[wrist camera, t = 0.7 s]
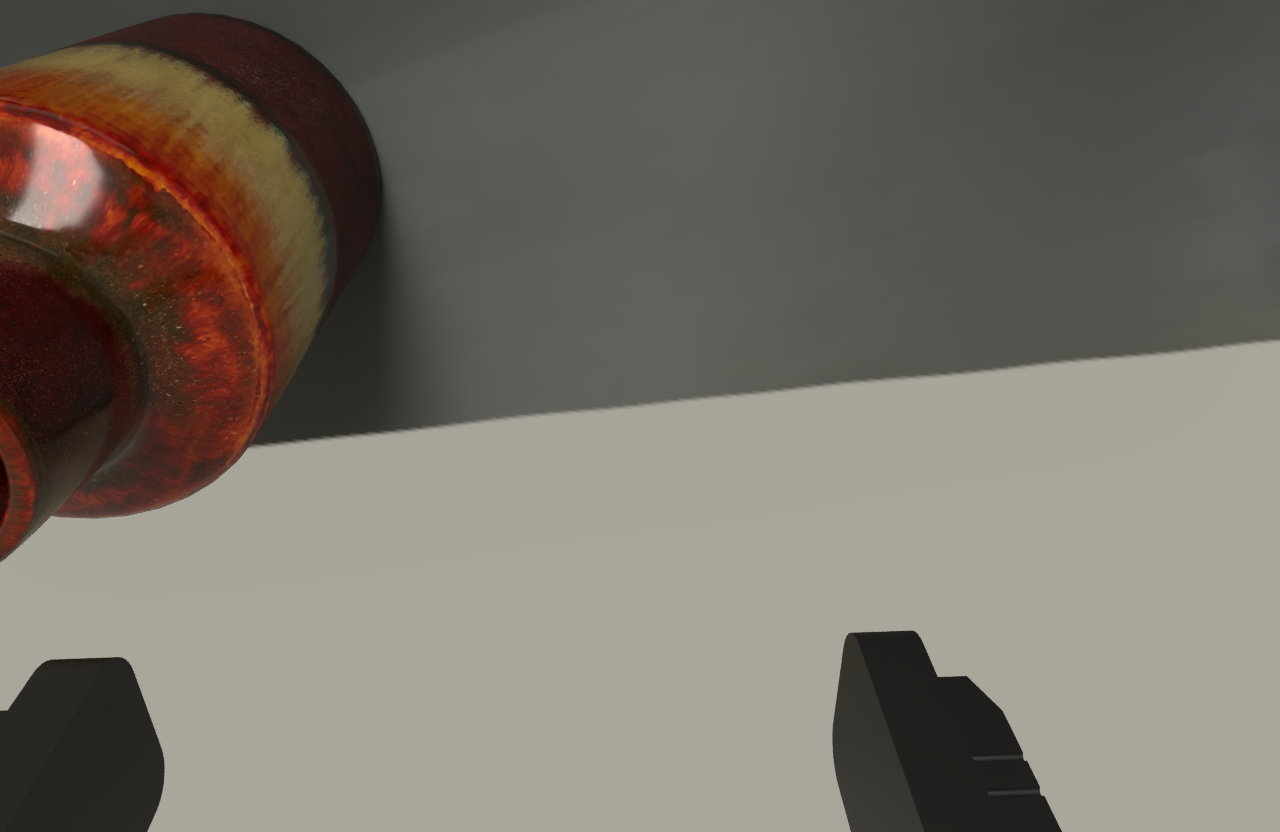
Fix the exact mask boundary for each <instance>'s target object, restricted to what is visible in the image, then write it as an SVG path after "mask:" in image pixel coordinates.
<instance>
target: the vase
mask: <svg viewBox="0 0 1280 832" xmlns="http://www.w3.org/2000/svg"><path fill="white" fill-rule="evenodd" d="M380 197H381V188H380V169H379V164H378V159H377V154H376V149H375V146H374V143H373V140H372V138H371V135H370V132H369V129H368V127H367V124H366V122H365V121H364V119H363V117H362V115H361V113H360V111H359V109H358V107H357V106H356V104H355V102H354V101H353V99H352V98H351V97H350V95H349V94H348V93H347V91H346V90H345V88H344V87H343V86H342V84H341V83H340V82H339V81H338V80H337V78H336V77H335V76H334V75H333V74H332V73H331V72H330V71H329V70H328V69H327V68H326V67H325V66H324V65H323V64H322V63H321V62H320V61H319V60H317V59H316V58H315V57H313V56H312V55H311V54H310V53H308V52H307V51H306V50H305V49H303V48H302V47H301V46H299V45H298V44H296V43H294V42H293V41H291V40H289V39H287V38H286V37H284V36H282V35H281V34H279V33H277V32H275V31H273V30H270V29H268V28H265V27H263V26H260V25H258V24H255V23H253V22H250V21H246V20H242V19H238V18H234V17H230V16H225V15H216V14H205V13H189V14H176V15H169V16H165V17H162V18H158V19H154V20H150V21H146V22H143V23H140V24H137V25H133V26H130V27H127V28H124V29H121V30H117V31H114V32H111V33H108V34H105V35H102V36H99V37H96V38H93V39H89V40H86V41H83V42H80V43H77V44H74V45H71V46H68V47H65V48H61V49H58V50H55V51H52V52H49V53H46V54H43V55H40V56H37V57H34V58H31V59H28V60H25V61H21V62H18V63H15V64H12V65H9V66H6V67H3V68H0V562H1V561H3V560H4V559H6V558H7V557H8V556H9V555H10V554H11V553H12V552H14V551H15V550H16V549H17V548H18V547H19V546H20V545H21V544H23V543H24V542H25V541H26V540H27V539H28V538H29V537H30V536H31V535H32V534H33V533H34V532H35V531H37V529H38V528H40V527H41V526H42V525H43V524H44V523H45V522H46V521H47V520H48V519H49V518H50V517H51V516H56V517H71V518H94V519H95V518H107V517H119V516H128V515H132V514H137V513H141V512H145V511H150V510H154V509H159V508H162V507H164V506H167V505H169V504H171V503H174V502H176V501H179V500H182V499H184V498H187V497H189V496H191V495H192V494H194V493H196V492H197V491H199V490H201V489H202V488H204V487H206V486H208V485H209V484H211V483H213V482H214V481H215V480H216V479H218V478H219V477H220V476H221V475H222V474H223V473H224V472H226V471H227V470H228V469H229V468H230V467H231V466H232V465H233V464H235V463H236V462H237V461H238V459H239V458H240V457H241V456H242V454H243V453H244V452H245V451H246V449H247V448H248V447H249V446H250V444H251V443H252V442H253V441H254V439H255V438H256V436H257V435H258V433H259V431H260V430H261V428H262V426H263V425H264V423H265V422H266V420H267V418H268V417H269V415H270V414H271V412H272V410H273V409H274V407H275V405H276V404H277V402H278V400H279V399H280V397H281V395H282V393H283V392H284V390H285V388H286V387H287V385H288V383H289V382H290V380H291V378H292V376H293V375H294V373H295V371H296V370H297V368H298V366H299V365H300V363H301V361H302V359H303V358H304V356H305V354H306V353H307V351H308V349H309V347H310V346H311V344H312V342H313V341H314V339H315V337H316V336H317V334H318V332H319V330H320V329H321V327H322V325H323V324H324V322H325V320H326V318H327V317H328V315H329V313H330V312H331V310H332V308H333V306H334V305H335V303H336V301H337V299H338V298H339V296H340V294H341V293H342V291H343V289H344V287H345V286H346V284H347V282H348V281H349V279H350V277H351V275H352V274H353V272H354V270H355V268H356V267H357V265H358V263H359V261H360V259H361V258H362V256H363V254H364V252H365V250H366V248H367V246H368V244H369V242H370V240H371V238H372V235H373V232H374V229H375V226H376V222H377V219H378V213H379V205H380Z"/></svg>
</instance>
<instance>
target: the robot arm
mask: <svg viewBox="0 0 1280 832" xmlns="http://www.w3.org/2000/svg"><path fill="white" fill-rule="evenodd" d="M833 757H834V765H835V772H836V777H837V781H838V785H839V789H840V793H841V796H842V800H843V804H844V808H845V811H846V815H847V818H848V822H849V826H850V830H851V832H1062V831H1061V829H1060V827H1059V825H1058V823H1057V821H1056V819H1055V817H1054V815H1053V813H1052V811H1051V809H1050V807H1049V805H1048V803H1047V800H1046V798H1045V796H1041V794H1040V786H1039V784H1038V782H1037V780H1036V778H1035V776H1034V774H1033V772H1032V770H1031V768H1030V766H1029V764H1028V762H1027V761H1024V759H1023V752H1022V750H1021V748H1020V745H1019V744H1018V741H1017V739H1016V737H1015V735H1014V733H1013V731H1012V729H1011V727H1010V725H1009V723H1008V721H1007V719H1006V717H1005V715H1004V713H1003V711H1002V710H1001V709H1000V708H999V707H998V706H997V705H996V704H995V703H994V702H993V701H992V700H991V699H990V698H989V697H988V696H986V694H985V693H984V692H983V691H981V690H980V689H979V688H978V687H977V686H976V685H975V684H974V683H973V682H972V681H971V680H970V679H969V678H968V677H967V676H956V677H937V674H936V672H935V670H934V667H933V665H932V663H931V660H930V658H929V656H928V653H927V651H926V649H925V647H924V644H923V642H922V640H921V638H920V637H919V635H918V634H917V633H916V632H915V631H890V632H861V633H849V634H848V635H847V637H846V639H845V643H844V649H843V656H842V663H841V670H840V678H839V685H838V692H837V700H836V707H835V715H834V722H833ZM163 784H164V757H163V752H162V749H161V746H160V743H159V740H158V737H157V735H156V732H155V729H154V726H153V724H152V721H151V718H150V715H149V713H148V710H147V707H146V704H145V701H144V699H143V696H142V693H141V691H140V688H139V685H138V683H137V679H136V677H135V674H134V671H133V669H132V667H131V665H130V664H129V662H127V660H125V659H124V658H121V657H113V658H86V659H58V660H49V661H46V662H44V663H43V664H41V665H40V666H39V667H38V668H37V669H36V670H35V672H34V673H33V675H32V676H31V677H30V679H29V680H28V682H27V683H26V685H25V686H24V688H23V689H22V690H21V692H20V693H19V695H18V696H17V698H16V699H15V701H14V702H13V703H12V705H11V706H10V708H9V710H8V711H0V832H147V831H148V829H149V826H150V824H151V822H152V820H153V817H154V815H155V813H156V811H157V808H158V805H159V802H160V799H161V795H162V790H163Z"/></svg>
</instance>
